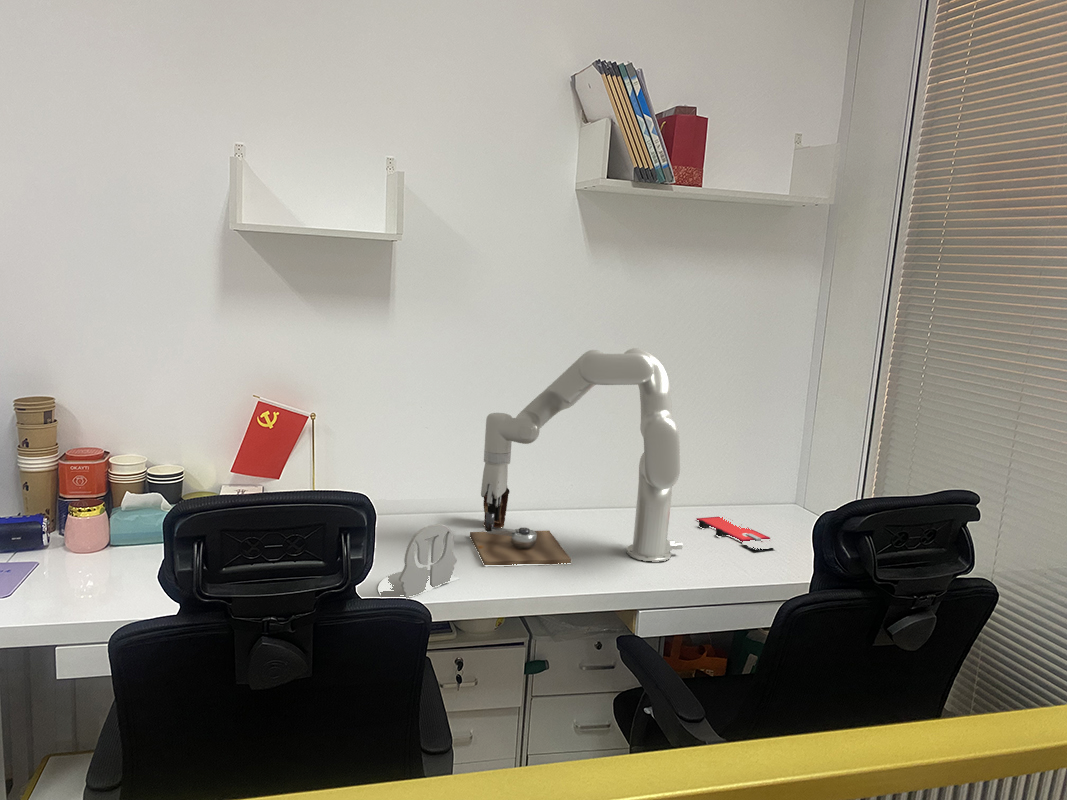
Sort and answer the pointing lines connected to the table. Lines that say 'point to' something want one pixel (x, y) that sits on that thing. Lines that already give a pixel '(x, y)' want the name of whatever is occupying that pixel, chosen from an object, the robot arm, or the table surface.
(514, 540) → the grey crank handle
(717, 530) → the red board with handle
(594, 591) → the table surface
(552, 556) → the board
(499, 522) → the coffee cup
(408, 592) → the ornament
